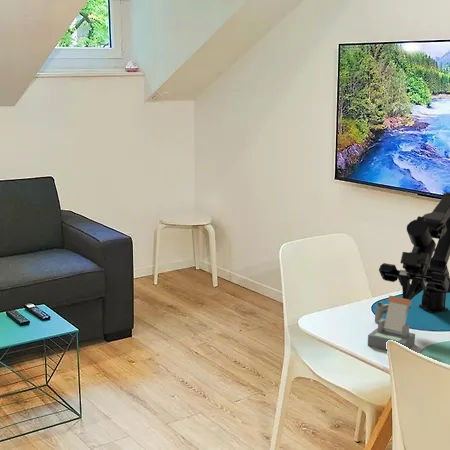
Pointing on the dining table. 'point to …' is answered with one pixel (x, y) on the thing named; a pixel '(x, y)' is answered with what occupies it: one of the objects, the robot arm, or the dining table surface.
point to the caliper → (380, 311)
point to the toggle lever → (397, 313)
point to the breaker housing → (390, 336)
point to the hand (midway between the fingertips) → (404, 303)
